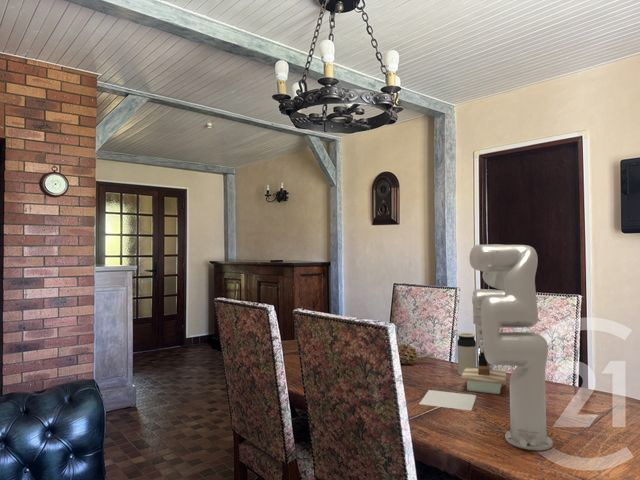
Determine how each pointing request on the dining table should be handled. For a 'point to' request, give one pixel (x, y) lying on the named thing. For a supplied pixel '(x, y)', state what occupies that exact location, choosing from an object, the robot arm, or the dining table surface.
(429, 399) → the mat
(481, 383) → the dish
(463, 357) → the travel mug
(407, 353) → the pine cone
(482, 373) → the lid
